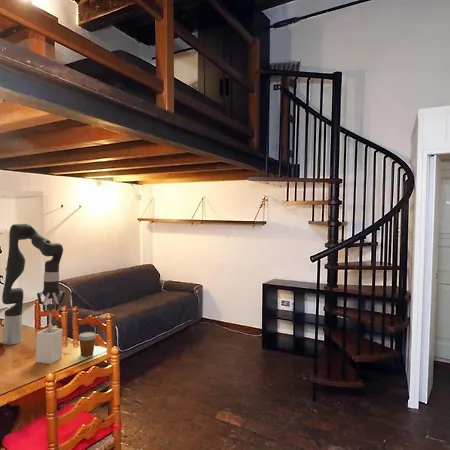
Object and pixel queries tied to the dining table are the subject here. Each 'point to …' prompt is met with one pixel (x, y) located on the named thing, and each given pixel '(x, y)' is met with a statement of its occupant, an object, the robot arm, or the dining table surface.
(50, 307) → the plunger
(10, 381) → the dining table surface
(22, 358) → the dining table surface
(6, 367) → the dining table surface
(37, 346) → the grey rectangular box
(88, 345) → the disposable coffee cup
